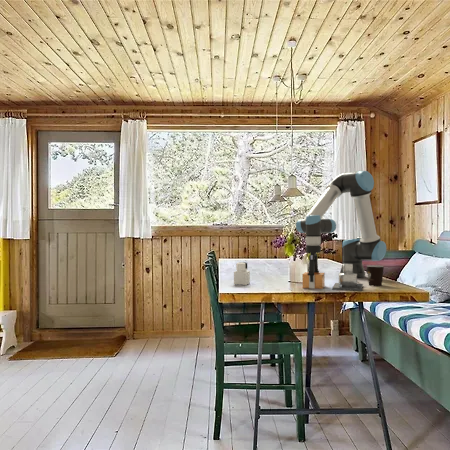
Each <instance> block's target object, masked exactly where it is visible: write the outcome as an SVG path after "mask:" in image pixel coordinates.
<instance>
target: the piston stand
mask: <svg viewBox="0 0 450 450" xmlns="http://www.w3.org/2000/svg"><path fill="white" fill-rule="evenodd" d="M342 264H343V263H342ZM362 287H363V288H364V284H363V283H358V278H357V274H355V273H353V264H343V273H340V272H339V273H338V282H334V285H333V286H332V290H333V291H353V292H357V291H358V292H362V291H363V288H362Z"/></svg>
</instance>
